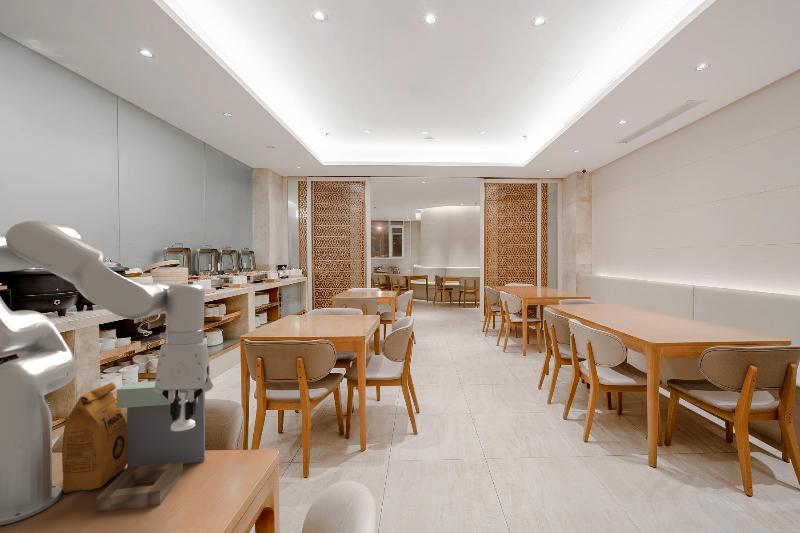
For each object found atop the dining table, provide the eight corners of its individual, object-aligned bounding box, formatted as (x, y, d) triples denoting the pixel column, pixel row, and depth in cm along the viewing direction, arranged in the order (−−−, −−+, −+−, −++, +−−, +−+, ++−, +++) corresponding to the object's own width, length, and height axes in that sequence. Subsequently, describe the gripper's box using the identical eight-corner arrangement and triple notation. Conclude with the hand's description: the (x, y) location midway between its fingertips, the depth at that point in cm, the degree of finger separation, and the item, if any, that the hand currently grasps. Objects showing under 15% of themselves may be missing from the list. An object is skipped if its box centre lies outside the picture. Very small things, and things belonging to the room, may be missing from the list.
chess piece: (183, 432, 81) (185, 387, 81) (165, 430, 82) (166, 385, 82) (200, 423, 86) (201, 380, 86) (182, 421, 87) (183, 379, 87)
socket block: (96, 512, 76) (96, 497, 76) (128, 479, 88) (128, 467, 88) (159, 505, 78) (159, 491, 78) (182, 474, 90) (182, 462, 90)
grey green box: (117, 478, 88) (116, 389, 89) (129, 466, 94) (129, 382, 94) (197, 470, 92) (196, 384, 92) (205, 459, 97) (204, 378, 97)
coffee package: (136, 464, 95) (136, 379, 95) (100, 494, 82) (99, 396, 82) (96, 466, 94) (95, 380, 94) (53, 496, 82) (53, 397, 82)
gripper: (138, 341, 79) (135, 426, 79) (216, 340, 82) (214, 423, 82) (155, 335, 87) (152, 413, 86) (226, 334, 89) (224, 410, 89)
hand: (183, 417), depth 84 cm, fingers closed on chess piece
